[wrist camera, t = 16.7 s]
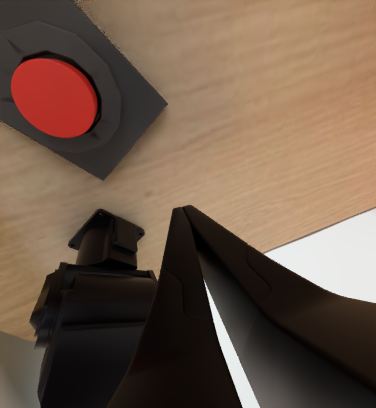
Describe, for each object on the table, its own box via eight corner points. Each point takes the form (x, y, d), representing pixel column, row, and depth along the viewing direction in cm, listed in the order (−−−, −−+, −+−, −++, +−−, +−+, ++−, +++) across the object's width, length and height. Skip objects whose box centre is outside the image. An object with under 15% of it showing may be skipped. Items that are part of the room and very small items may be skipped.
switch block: (104, 173, 19) (101, 192, 16) (-50, 79, 12) (-97, 84, 10) (165, 100, 17) (173, 109, 14) (14, -62, 10) (-26, -106, 7)
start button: (77, 142, 14) (72, 150, 12) (11, 98, 11) (-4, 103, 10) (110, 97, 13) (108, 102, 11) (44, 39, 10) (33, 36, 9)
